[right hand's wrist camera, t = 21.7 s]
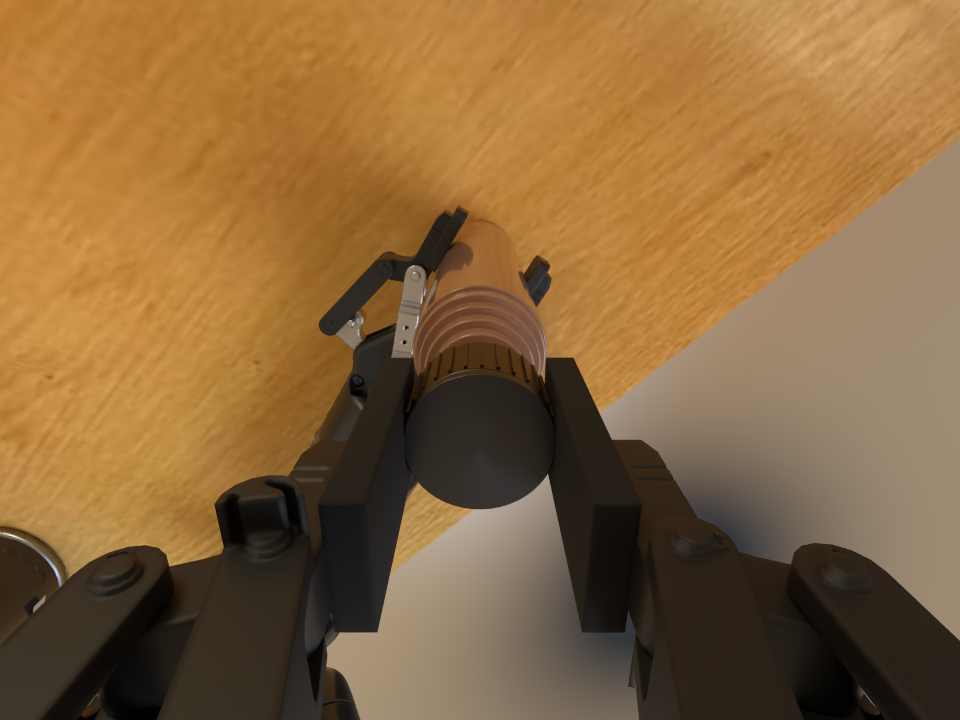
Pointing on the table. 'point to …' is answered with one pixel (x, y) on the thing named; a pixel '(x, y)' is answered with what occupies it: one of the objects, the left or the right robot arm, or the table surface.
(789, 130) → the table surface
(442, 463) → the cap
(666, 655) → the right robot arm
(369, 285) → the left robot arm
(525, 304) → the bottle
